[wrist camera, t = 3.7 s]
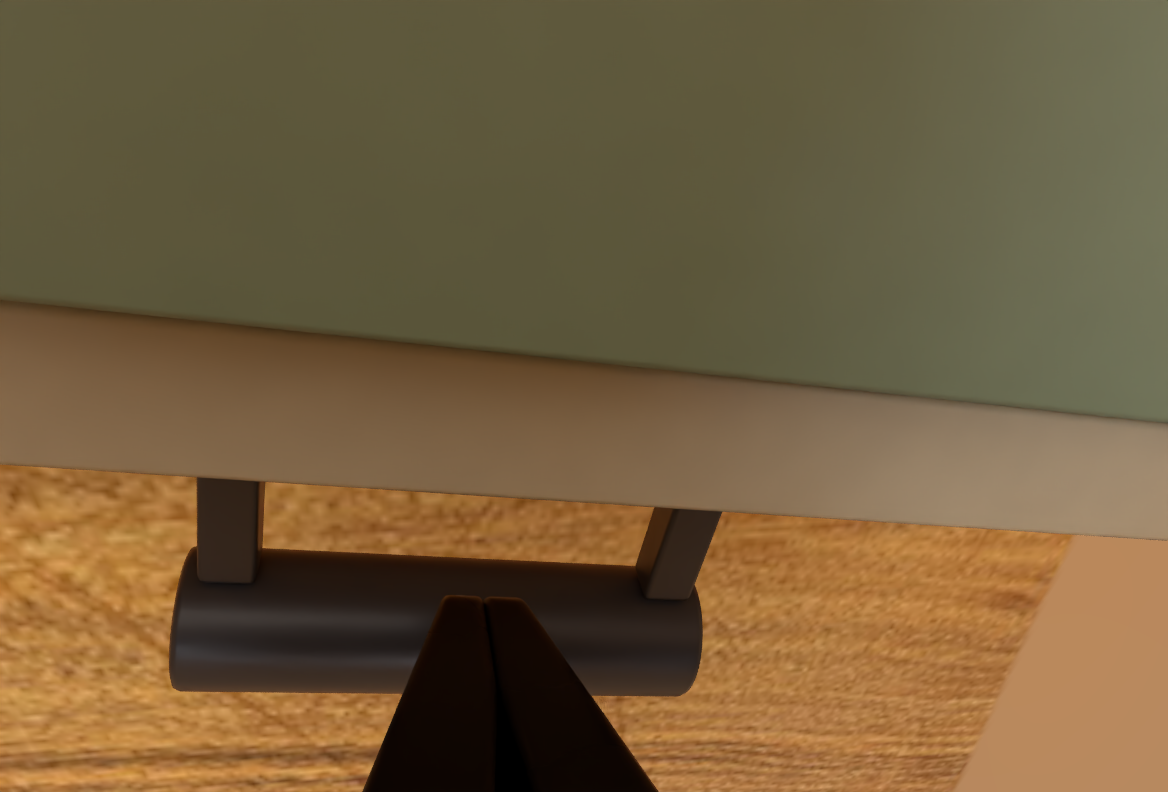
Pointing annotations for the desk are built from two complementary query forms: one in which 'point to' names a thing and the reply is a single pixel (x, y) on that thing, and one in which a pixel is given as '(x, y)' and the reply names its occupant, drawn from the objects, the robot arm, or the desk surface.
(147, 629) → the desk surface
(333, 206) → the cabinet
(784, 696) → the desk surface
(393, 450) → the drawer
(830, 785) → the desk surface
